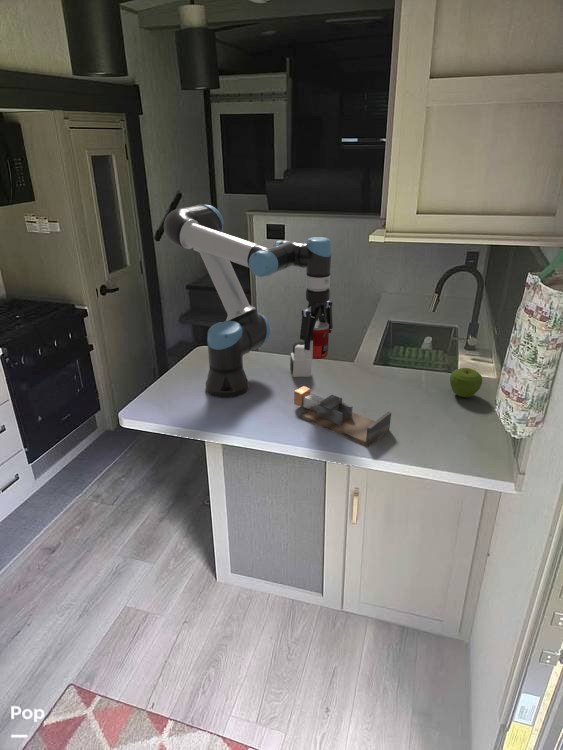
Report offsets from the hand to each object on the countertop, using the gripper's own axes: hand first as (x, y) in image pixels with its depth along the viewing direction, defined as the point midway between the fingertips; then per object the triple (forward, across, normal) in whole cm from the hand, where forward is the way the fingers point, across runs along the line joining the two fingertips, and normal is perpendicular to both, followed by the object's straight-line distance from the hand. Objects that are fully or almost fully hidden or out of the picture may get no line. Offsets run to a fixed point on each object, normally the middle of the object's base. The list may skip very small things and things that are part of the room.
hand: (316, 354), depth 173 cm
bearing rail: (+15, -10, -18) cm, 26 cm away
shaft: (+14, -10, -8) cm, 19 cm away
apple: (+16, +33, -40) cm, 54 cm away
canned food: (0, 0, 0) cm, 0 cm away
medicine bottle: (+15, +10, +14) cm, 24 cm away
